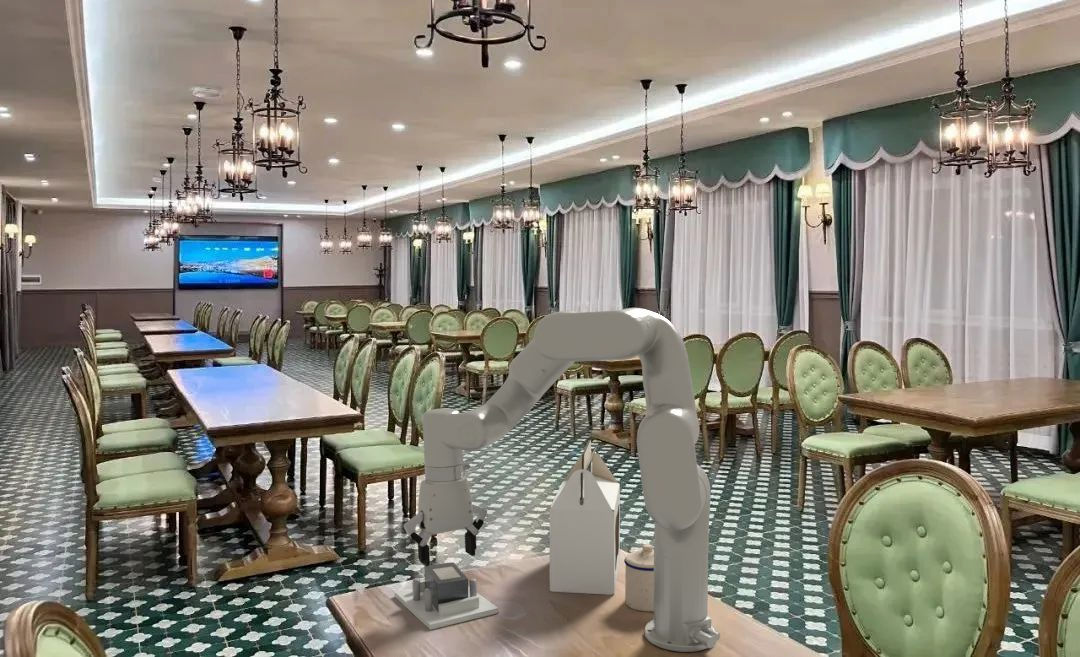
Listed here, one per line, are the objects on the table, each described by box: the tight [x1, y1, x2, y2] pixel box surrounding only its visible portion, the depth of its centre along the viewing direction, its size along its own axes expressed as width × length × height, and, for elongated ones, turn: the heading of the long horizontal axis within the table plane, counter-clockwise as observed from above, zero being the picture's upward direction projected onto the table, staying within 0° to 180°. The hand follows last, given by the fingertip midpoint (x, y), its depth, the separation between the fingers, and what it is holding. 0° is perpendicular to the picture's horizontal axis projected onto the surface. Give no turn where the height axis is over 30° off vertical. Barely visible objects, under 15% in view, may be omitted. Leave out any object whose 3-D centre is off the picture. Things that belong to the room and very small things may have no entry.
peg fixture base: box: [394, 568, 499, 631], centre depth 157 cm, size 18×14×5 cm
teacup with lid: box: [623, 543, 654, 613], centre depth 159 cm, size 12×9×12 cm
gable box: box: [549, 439, 621, 596], centre depth 173 cm, size 22×13×28 cm, turn 171°
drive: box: [424, 561, 469, 612], centre depth 157 cm, size 10×6×6 cm, turn 23°
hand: (448, 559), depth 157 cm, fingers open, 9 cm apart
